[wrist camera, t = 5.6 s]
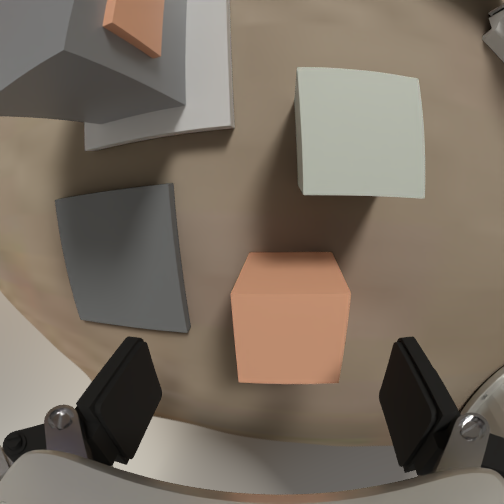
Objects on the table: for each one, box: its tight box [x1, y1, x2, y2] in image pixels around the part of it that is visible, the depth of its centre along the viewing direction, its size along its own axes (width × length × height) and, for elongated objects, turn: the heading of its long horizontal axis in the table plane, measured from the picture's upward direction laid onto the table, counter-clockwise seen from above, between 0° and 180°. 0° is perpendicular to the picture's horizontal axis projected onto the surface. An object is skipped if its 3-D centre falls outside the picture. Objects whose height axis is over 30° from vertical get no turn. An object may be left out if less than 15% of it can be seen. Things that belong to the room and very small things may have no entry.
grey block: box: [294, 67, 425, 198], centre depth 12 cm, size 5×5×6 cm
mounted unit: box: [0, 0, 235, 151], centre depth 9 cm, size 12×10×11 cm
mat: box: [55, 183, 191, 333], centre depth 18 cm, size 10×10×1 cm
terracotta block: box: [231, 252, 351, 384], centre depth 15 cm, size 5×5×6 cm
